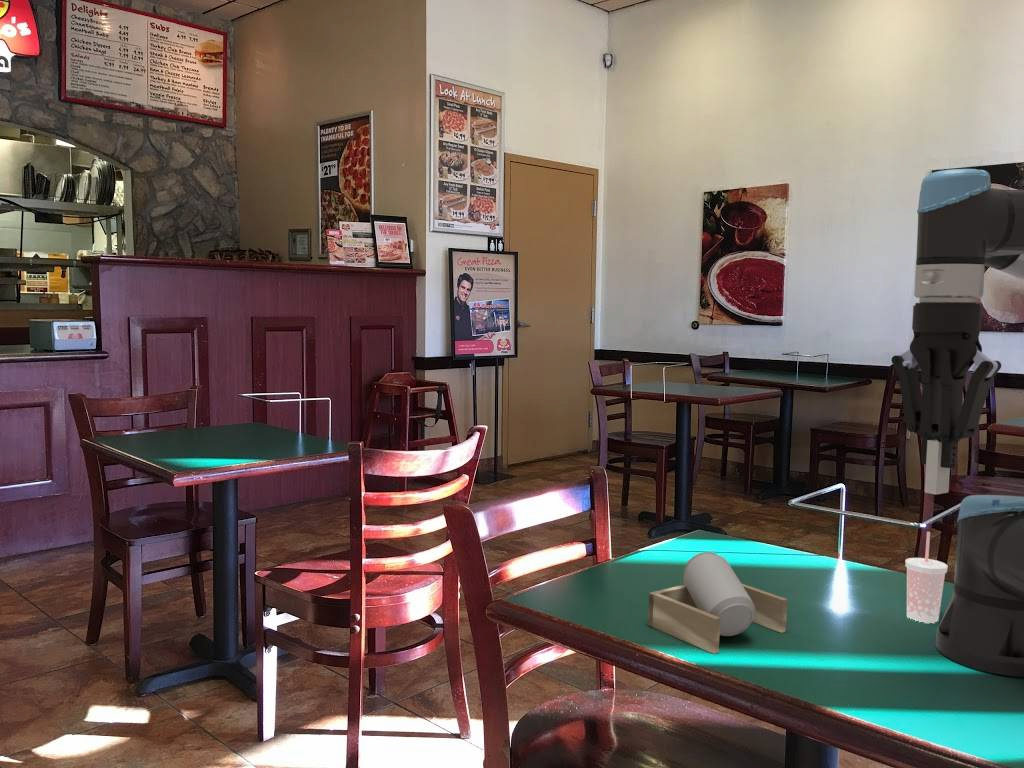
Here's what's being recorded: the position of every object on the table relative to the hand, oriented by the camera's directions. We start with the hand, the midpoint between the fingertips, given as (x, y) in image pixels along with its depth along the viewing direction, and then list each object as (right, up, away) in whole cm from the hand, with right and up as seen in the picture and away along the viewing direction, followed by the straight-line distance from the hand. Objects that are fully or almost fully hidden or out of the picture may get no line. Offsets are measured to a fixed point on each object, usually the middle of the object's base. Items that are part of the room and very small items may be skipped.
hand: (936, 492), depth 108 cm
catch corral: (-21, -24, +23) cm, 39 cm away
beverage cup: (+13, -24, +31) cm, 41 cm away
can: (-21, -21, +17) cm, 34 cm away
